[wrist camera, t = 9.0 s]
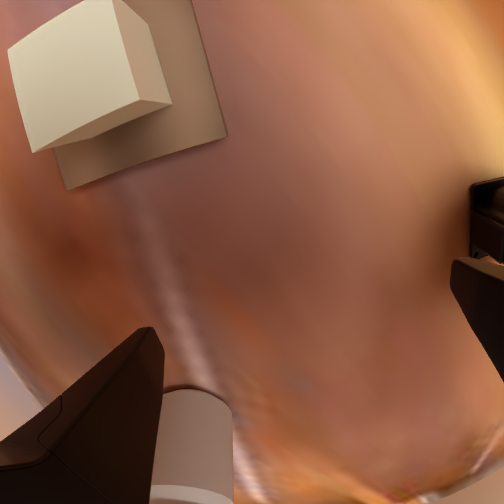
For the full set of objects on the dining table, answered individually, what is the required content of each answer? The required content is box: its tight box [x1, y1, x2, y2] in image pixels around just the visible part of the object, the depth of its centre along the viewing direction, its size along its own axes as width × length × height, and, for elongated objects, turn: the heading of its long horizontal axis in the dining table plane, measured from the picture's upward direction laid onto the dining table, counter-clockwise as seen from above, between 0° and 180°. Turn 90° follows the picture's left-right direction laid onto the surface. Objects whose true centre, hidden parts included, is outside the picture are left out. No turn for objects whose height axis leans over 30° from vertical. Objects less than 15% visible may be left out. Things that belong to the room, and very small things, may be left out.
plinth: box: [53, 0, 228, 191], centre depth 16 cm, size 10×10×3 cm
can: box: [149, 389, 234, 504], centre depth 22 cm, size 8×8×12 cm
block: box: [7, 0, 172, 153], centre depth 12 cm, size 5×5×6 cm
